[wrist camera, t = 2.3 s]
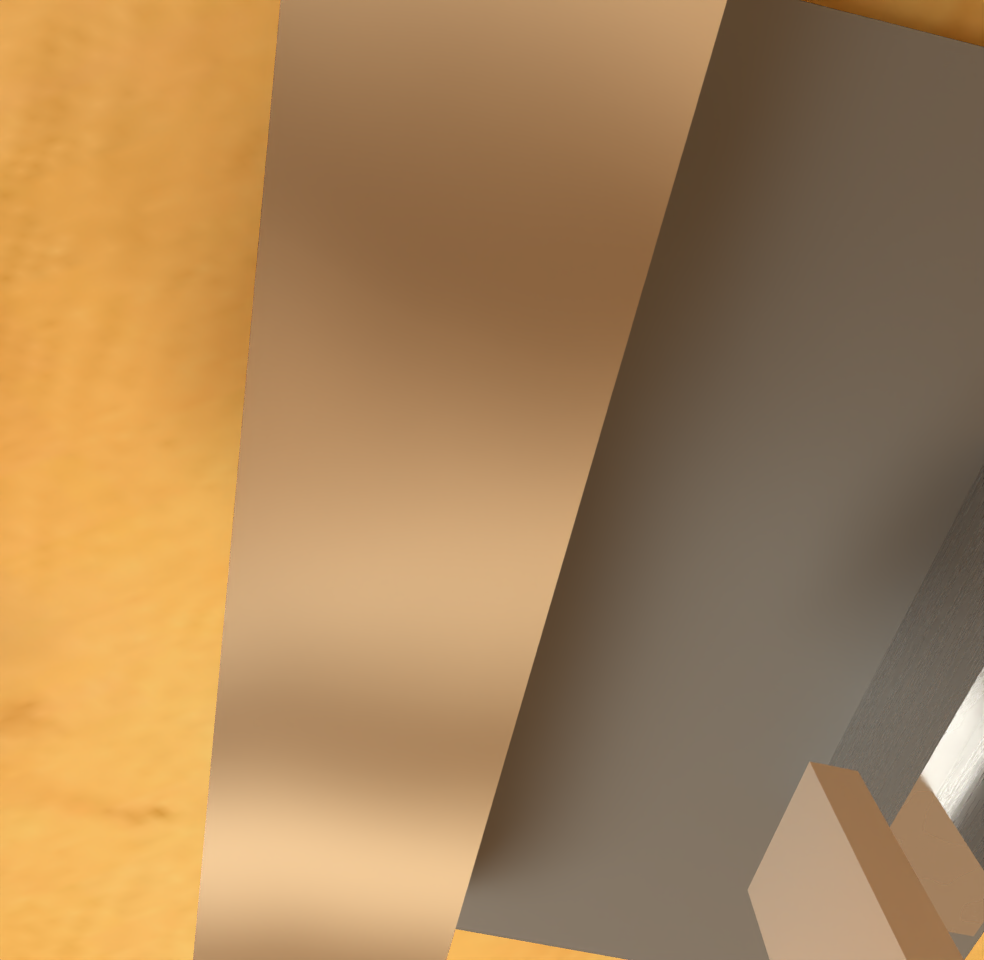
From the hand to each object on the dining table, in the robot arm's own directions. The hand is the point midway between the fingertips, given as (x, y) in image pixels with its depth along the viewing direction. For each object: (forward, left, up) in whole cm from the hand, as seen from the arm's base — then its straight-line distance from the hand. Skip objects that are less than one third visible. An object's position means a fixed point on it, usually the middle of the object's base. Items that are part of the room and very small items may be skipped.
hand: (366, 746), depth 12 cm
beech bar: (0, 0, -5) cm, 5 cm away
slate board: (0, +7, -6) cm, 9 cm away
